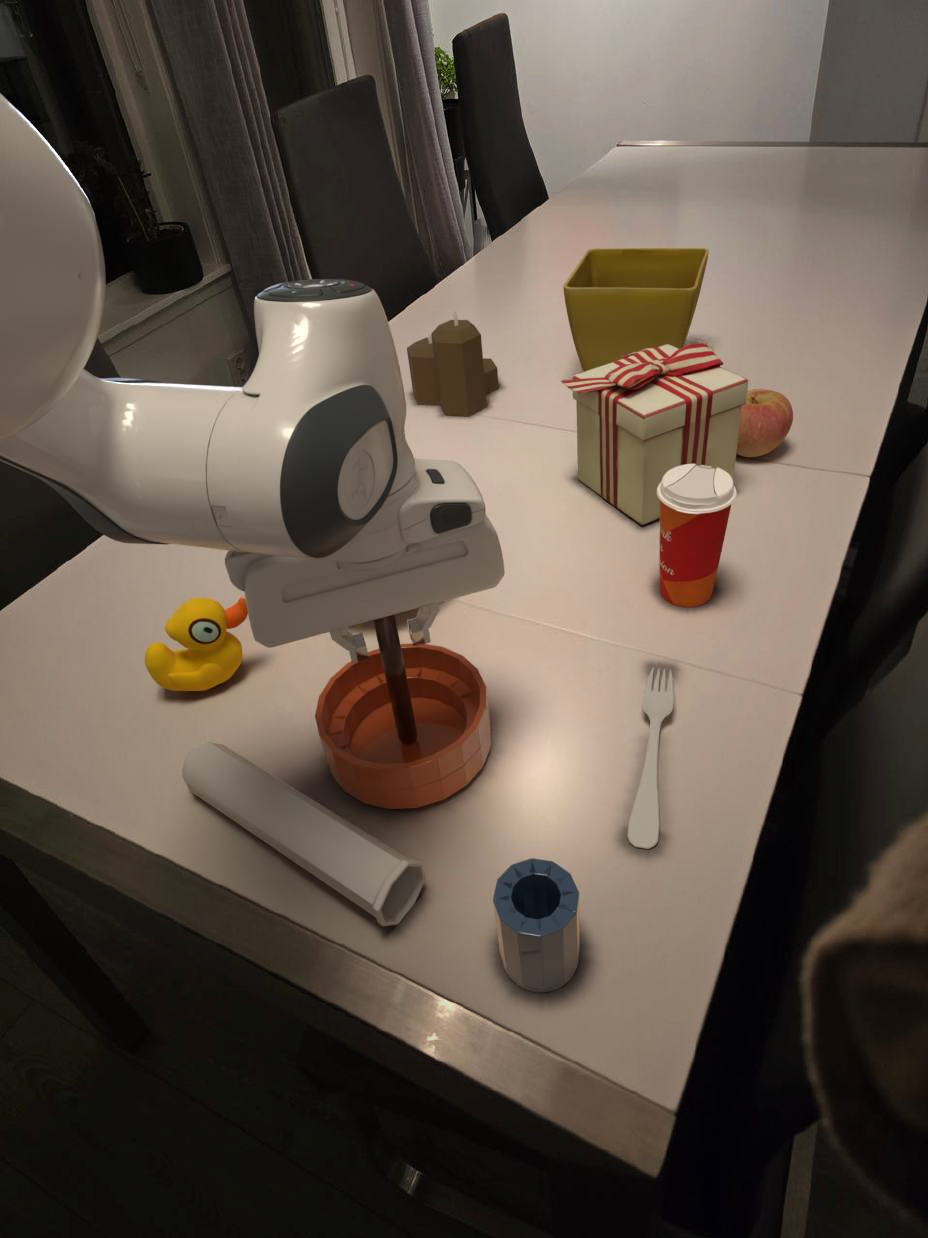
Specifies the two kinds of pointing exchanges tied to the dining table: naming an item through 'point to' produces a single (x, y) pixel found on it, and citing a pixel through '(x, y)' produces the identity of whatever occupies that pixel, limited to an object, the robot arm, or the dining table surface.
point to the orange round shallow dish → (368, 736)
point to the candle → (452, 369)
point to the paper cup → (692, 531)
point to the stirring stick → (396, 678)
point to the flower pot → (632, 300)
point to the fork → (650, 764)
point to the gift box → (654, 422)
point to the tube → (306, 832)
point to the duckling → (198, 646)
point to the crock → (537, 924)
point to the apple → (763, 422)
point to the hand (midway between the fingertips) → (390, 648)
